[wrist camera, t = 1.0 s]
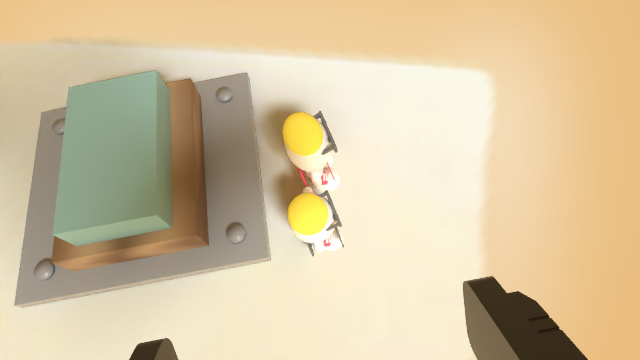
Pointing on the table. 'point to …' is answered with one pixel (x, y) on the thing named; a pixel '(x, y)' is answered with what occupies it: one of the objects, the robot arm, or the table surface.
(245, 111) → the stepped display pedestal
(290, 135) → the toy figures
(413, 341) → the table surface
